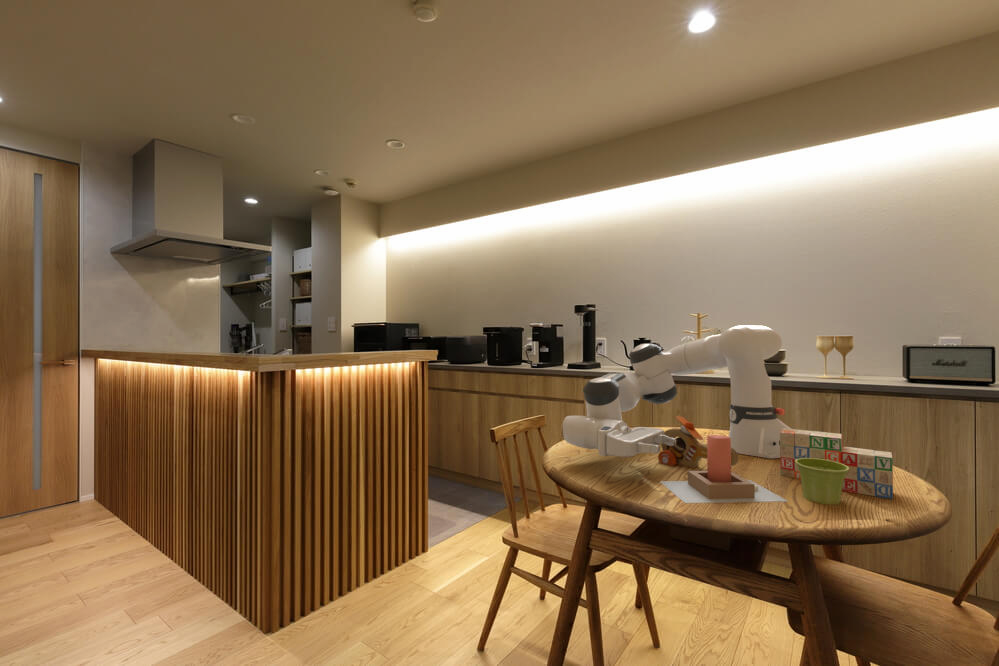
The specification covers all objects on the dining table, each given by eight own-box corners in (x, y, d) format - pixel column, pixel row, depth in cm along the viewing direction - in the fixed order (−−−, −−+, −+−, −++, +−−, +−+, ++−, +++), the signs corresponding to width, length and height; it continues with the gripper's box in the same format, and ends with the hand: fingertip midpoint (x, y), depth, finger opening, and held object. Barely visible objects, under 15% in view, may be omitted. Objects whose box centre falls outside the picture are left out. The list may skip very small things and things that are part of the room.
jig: (749, 484, 109) (749, 467, 109) (788, 506, 95) (788, 486, 95) (659, 486, 109) (659, 468, 109) (685, 508, 95) (685, 488, 95)
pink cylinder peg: (724, 486, 105) (723, 434, 105) (735, 494, 100) (735, 439, 100) (703, 487, 104) (703, 435, 105) (714, 494, 100) (713, 439, 100)
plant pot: (853, 504, 97) (852, 463, 97) (845, 517, 90) (844, 473, 90) (801, 493, 103) (801, 455, 103) (790, 504, 97) (790, 463, 97)
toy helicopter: (671, 460, 131) (670, 413, 131) (745, 478, 114) (744, 424, 114) (654, 465, 126) (653, 416, 126) (728, 485, 109) (728, 428, 109)
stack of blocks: (892, 492, 104) (892, 439, 104) (893, 500, 99) (892, 444, 99) (783, 474, 118) (783, 427, 118) (779, 480, 113) (779, 431, 113)
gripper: (634, 442, 127) (683, 450, 118) (595, 456, 112) (648, 467, 103) (634, 419, 127) (683, 426, 118) (595, 431, 112) (648, 440, 103)
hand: (667, 445), depth 110 cm, fingers open, 8 cm apart
